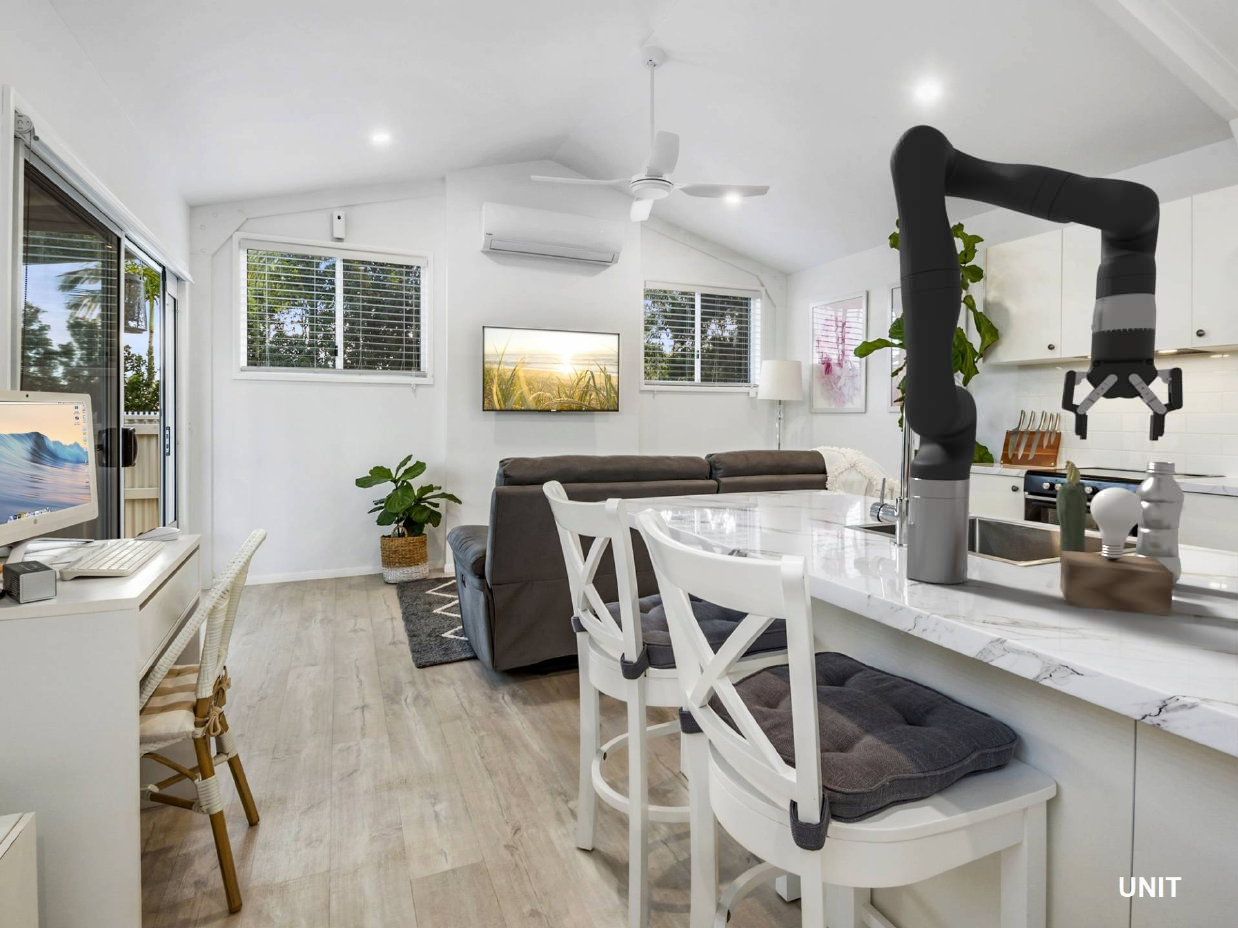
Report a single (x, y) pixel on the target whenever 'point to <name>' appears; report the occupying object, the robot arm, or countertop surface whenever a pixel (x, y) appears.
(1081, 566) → the riser block
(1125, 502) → the lightbulb
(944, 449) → the robot arm
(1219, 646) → the countertop surface
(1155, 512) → the plastic bottle
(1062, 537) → the vegetable
